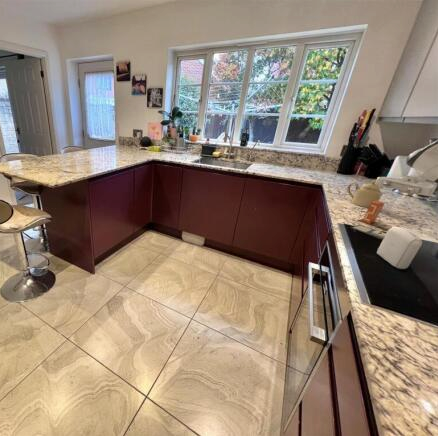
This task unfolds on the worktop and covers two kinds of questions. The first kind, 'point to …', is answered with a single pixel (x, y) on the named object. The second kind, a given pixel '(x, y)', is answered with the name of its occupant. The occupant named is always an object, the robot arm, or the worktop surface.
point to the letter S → (373, 212)
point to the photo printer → (399, 247)
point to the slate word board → (370, 231)
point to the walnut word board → (378, 225)
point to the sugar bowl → (365, 194)
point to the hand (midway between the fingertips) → (396, 187)
